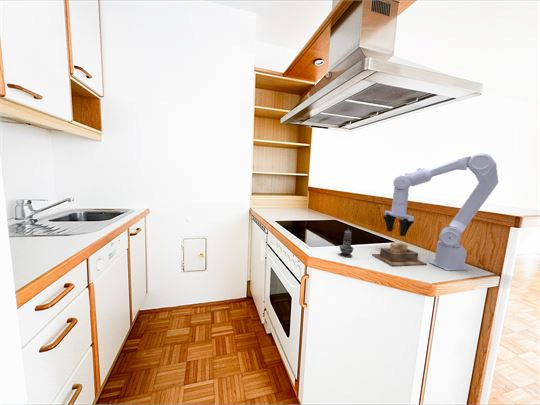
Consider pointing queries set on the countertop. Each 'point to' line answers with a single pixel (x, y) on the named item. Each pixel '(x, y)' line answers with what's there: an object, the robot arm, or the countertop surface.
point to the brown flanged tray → (399, 258)
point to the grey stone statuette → (346, 245)
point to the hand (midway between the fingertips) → (395, 233)
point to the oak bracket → (398, 247)
